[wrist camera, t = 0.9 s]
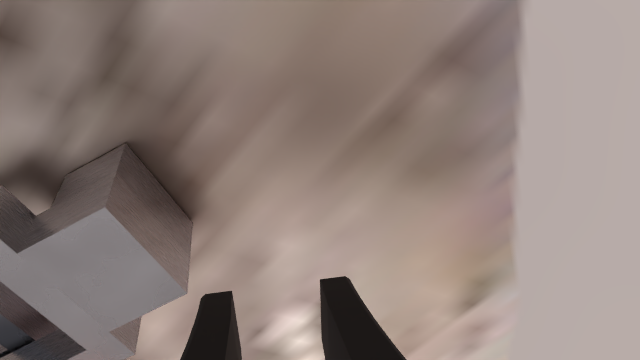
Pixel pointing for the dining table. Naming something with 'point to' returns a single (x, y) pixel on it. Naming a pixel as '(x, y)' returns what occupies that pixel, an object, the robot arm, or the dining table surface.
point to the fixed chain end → (19, 322)
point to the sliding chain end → (96, 258)
